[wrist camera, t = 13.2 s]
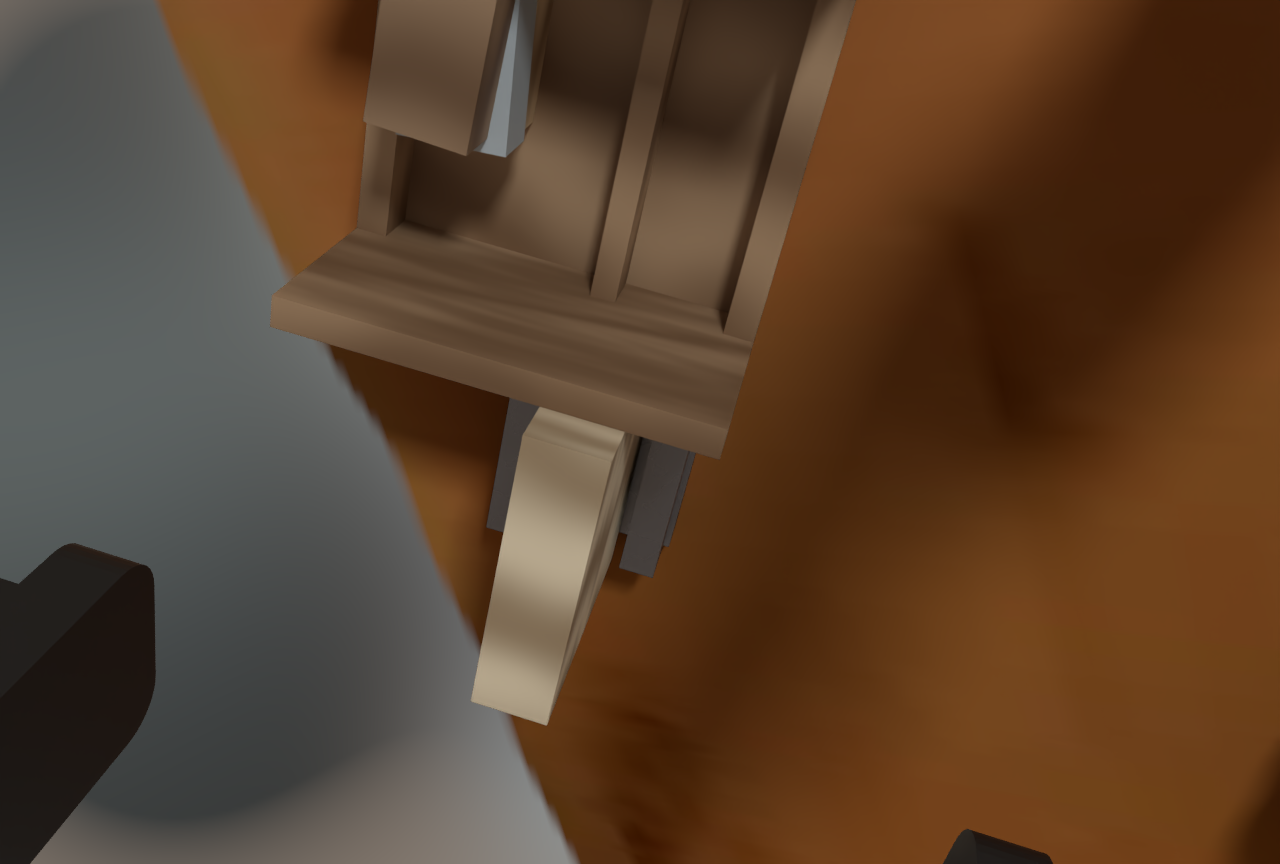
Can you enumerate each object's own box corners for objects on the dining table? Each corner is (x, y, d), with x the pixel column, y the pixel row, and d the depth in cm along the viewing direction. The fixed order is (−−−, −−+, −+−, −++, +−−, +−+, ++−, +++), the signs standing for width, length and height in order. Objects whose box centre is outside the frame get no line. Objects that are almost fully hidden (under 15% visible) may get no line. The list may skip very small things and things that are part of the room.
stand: (537, 309, 49) (513, 344, 46) (721, 363, 48) (709, 401, 45) (505, 483, 53) (480, 525, 50) (672, 534, 53) (658, 579, 50)
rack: (433, -228, 40) (301, -232, 31) (888, -110, 39) (881, -80, 30) (383, 231, 48) (270, 326, 40) (754, 338, 47) (719, 460, 39)
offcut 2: (427, -57, 39) (402, -49, 38) (540, -35, 39) (521, -26, 37) (418, 118, 42) (395, 134, 41) (523, 140, 42) (505, 157, 40)
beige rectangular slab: (601, 304, 47) (522, 435, 38) (672, 325, 47) (611, 461, 37) (549, 538, 53) (470, 701, 44) (612, 558, 53) (546, 725, 44)
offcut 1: (413, -50, 37) (386, -42, 36) (518, -16, 37) (497, -5, 35) (388, 105, 40) (363, 121, 38) (487, 138, 40) (466, 156, 38)
